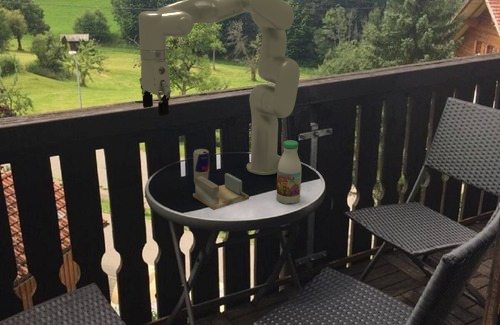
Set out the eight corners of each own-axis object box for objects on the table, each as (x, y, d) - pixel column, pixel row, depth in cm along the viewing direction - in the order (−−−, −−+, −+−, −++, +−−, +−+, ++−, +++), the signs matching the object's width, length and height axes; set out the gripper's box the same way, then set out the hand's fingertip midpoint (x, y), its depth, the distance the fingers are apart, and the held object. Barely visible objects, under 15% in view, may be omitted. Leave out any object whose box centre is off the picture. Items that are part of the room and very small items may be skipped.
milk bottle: (277, 193, 183) (280, 137, 176) (300, 195, 182) (304, 139, 174) (274, 203, 176) (277, 145, 169) (298, 205, 175) (302, 147, 167)
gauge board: (227, 186, 188) (227, 167, 185) (248, 198, 179) (249, 179, 176) (193, 196, 180) (192, 176, 177) (213, 209, 171) (213, 189, 168)
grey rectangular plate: (227, 185, 185) (227, 173, 183) (246, 196, 177) (246, 183, 176) (224, 186, 184) (224, 173, 183) (243, 197, 177) (243, 184, 175)
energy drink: (207, 187, 186) (206, 154, 182) (192, 186, 187) (191, 153, 183) (211, 181, 191) (210, 149, 187) (196, 179, 192) (195, 147, 188)
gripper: (179, 58, 157) (181, 115, 163) (150, 49, 169) (152, 102, 175) (156, 61, 152) (158, 119, 159) (128, 51, 165) (131, 106, 171)
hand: (155, 110), depth 167 cm, fingers open, 9 cm apart
